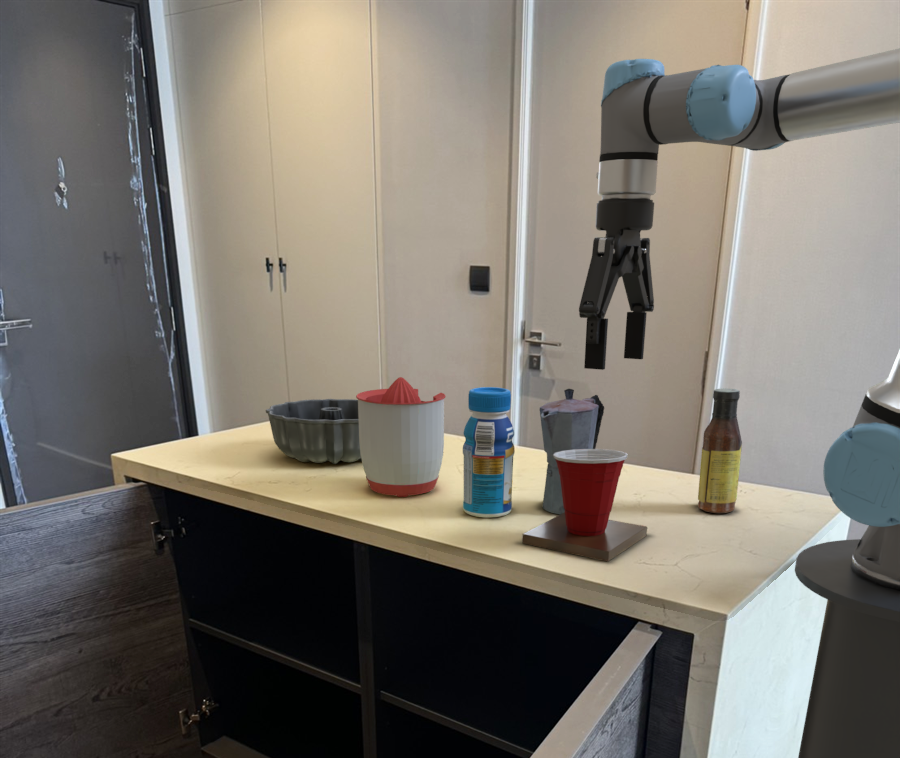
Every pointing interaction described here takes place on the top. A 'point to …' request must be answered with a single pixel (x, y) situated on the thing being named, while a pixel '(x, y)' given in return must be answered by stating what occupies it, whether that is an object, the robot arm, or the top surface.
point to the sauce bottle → (721, 455)
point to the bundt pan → (317, 429)
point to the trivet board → (585, 538)
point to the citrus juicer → (401, 439)
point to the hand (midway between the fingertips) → (614, 363)
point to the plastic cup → (588, 487)
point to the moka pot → (567, 437)
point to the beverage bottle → (488, 453)
